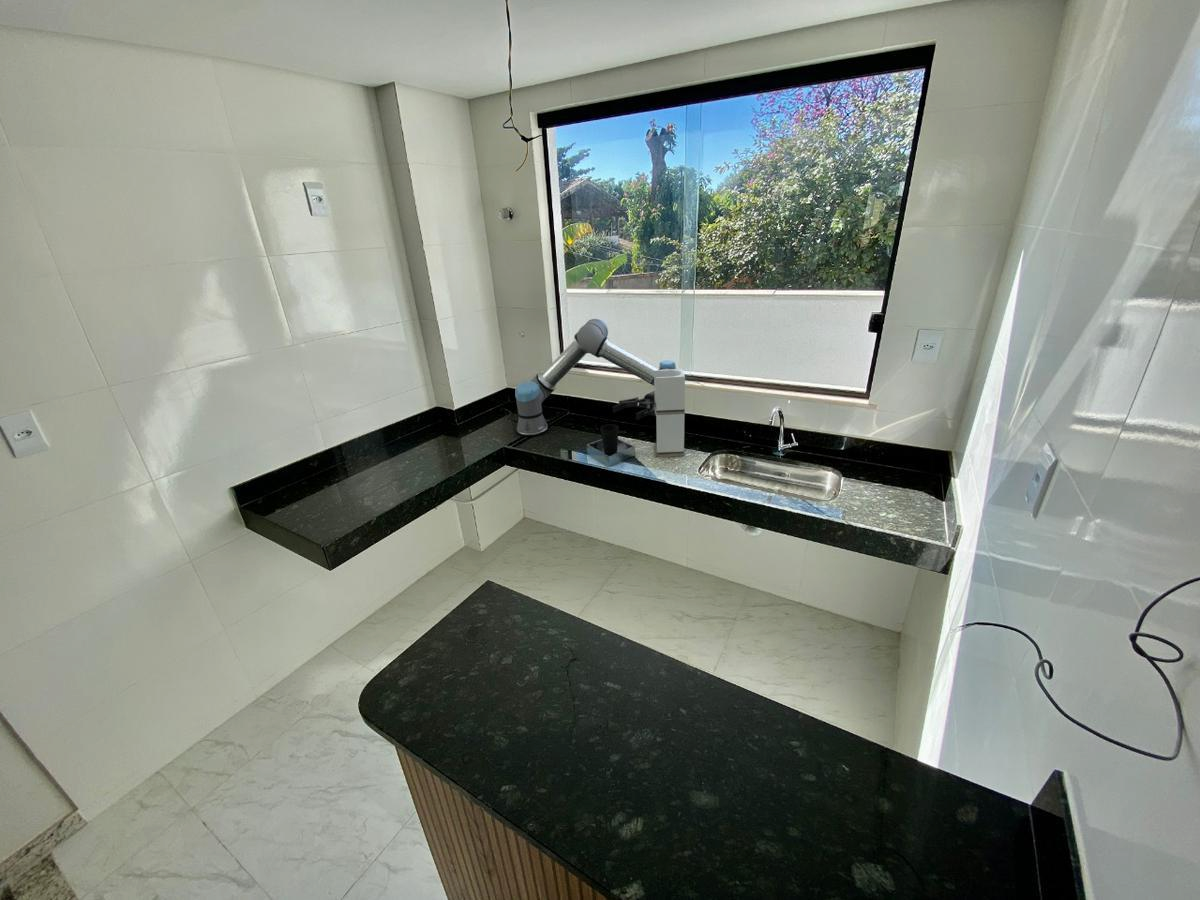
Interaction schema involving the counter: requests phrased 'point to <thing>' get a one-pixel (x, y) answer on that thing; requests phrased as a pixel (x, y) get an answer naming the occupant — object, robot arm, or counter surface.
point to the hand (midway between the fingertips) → (624, 413)
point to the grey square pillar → (669, 411)
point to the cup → (610, 438)
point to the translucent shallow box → (622, 454)
